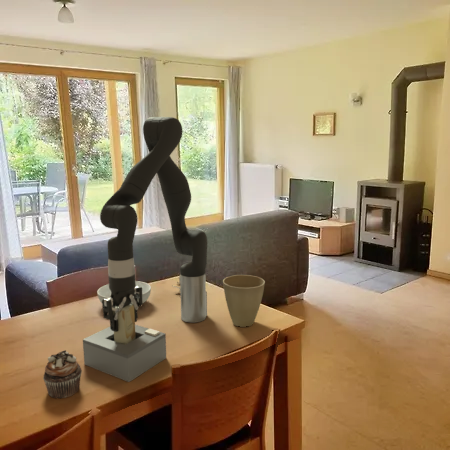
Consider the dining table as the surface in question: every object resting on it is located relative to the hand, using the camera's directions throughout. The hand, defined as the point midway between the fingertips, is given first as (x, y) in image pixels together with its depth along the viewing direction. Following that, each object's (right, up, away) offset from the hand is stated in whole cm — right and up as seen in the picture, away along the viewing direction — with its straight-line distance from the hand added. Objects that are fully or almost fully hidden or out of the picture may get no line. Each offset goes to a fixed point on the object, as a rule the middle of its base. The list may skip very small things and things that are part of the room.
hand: (124, 326), depth 132 cm
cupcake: (-13, -14, -13) cm, 23 cm away
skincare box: (0, -6, +1) cm, 6 cm away
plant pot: (+36, -6, +29) cm, 47 cm away
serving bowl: (-10, -2, +47) cm, 48 cm away
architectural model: (+12, 0, +60) cm, 62 cm away
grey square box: (0, -11, +2) cm, 11 cm away
